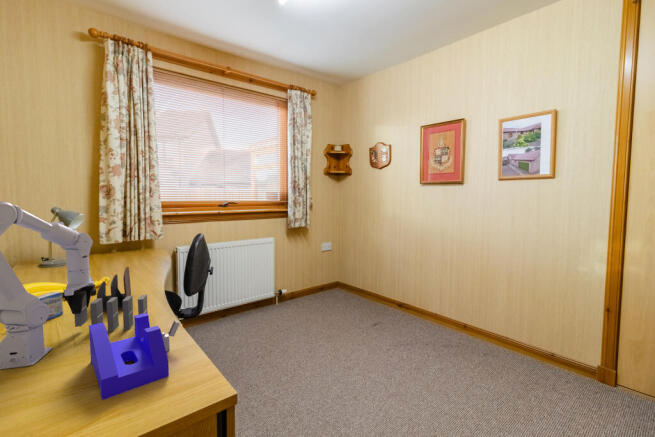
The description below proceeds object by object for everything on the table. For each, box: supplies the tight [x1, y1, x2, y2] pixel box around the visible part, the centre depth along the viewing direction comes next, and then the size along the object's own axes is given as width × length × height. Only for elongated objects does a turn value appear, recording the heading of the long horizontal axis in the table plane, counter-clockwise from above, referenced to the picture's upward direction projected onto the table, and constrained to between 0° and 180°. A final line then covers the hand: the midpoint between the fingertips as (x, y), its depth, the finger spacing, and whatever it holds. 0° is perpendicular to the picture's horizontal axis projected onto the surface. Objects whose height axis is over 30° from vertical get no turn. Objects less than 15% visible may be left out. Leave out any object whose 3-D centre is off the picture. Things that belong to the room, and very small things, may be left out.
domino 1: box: [73, 291, 89, 328], centre depth 103 cm, size 5×2×10 cm, turn 17°
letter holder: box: [96, 266, 132, 314], centre depth 129 cm, size 10×20×14 cm, turn 29°
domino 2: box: [89, 298, 104, 325], centre depth 104 cm, size 5×2×10 cm, turn 17°
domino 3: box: [106, 297, 120, 333], centre depth 105 cm, size 5×2×10 cm, turn 17°
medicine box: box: [36, 291, 64, 322], centre depth 114 cm, size 8×4×9 cm, turn 168°
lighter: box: [161, 320, 181, 352], centre depth 91 cm, size 7×2×8 cm, turn 127°
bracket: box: [88, 313, 170, 401], centre depth 81 cm, size 21×14×10 cm, turn 42°
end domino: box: [137, 294, 149, 315], centre depth 108 cm, size 5×2×10 cm, turn 17°
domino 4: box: [122, 295, 135, 331], centre depth 107 cm, size 5×2×10 cm, turn 17°
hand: (80, 310), depth 103 cm, fingers closed on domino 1, 5 cm apart
